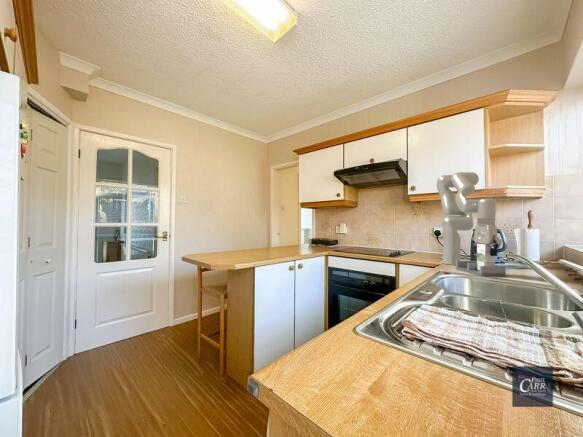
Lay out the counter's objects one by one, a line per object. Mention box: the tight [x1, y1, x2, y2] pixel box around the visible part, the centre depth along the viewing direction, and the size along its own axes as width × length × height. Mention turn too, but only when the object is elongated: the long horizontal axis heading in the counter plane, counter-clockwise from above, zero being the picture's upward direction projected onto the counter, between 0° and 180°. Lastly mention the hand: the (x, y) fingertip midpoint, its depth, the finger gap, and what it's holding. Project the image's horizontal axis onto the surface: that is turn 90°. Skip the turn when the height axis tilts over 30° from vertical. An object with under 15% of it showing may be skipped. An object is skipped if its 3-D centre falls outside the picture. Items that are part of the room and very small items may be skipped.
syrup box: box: [476, 243, 496, 271], centre depth 128 cm, size 6×6×14 cm
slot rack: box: [455, 260, 507, 277], centre depth 132 cm, size 17×13×5 cm
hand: (485, 254), depth 129 cm, fingers open, 9 cm apart
